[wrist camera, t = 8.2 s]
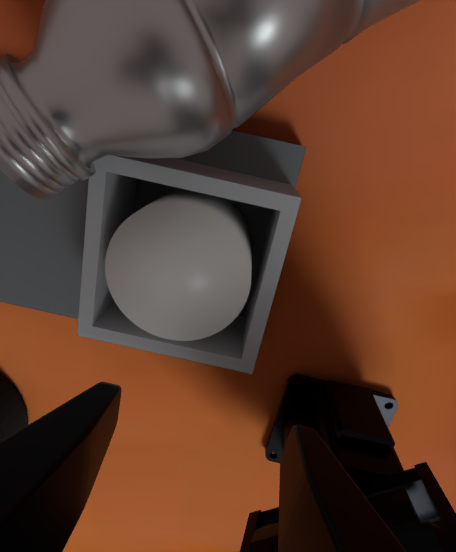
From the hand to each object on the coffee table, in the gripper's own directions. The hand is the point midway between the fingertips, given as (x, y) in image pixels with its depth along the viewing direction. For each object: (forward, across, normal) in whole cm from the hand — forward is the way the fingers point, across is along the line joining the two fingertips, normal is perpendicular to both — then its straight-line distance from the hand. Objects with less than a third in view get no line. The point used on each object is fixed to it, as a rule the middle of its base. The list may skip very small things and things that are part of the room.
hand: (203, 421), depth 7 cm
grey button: (+11, +2, 0) cm, 11 cm away
